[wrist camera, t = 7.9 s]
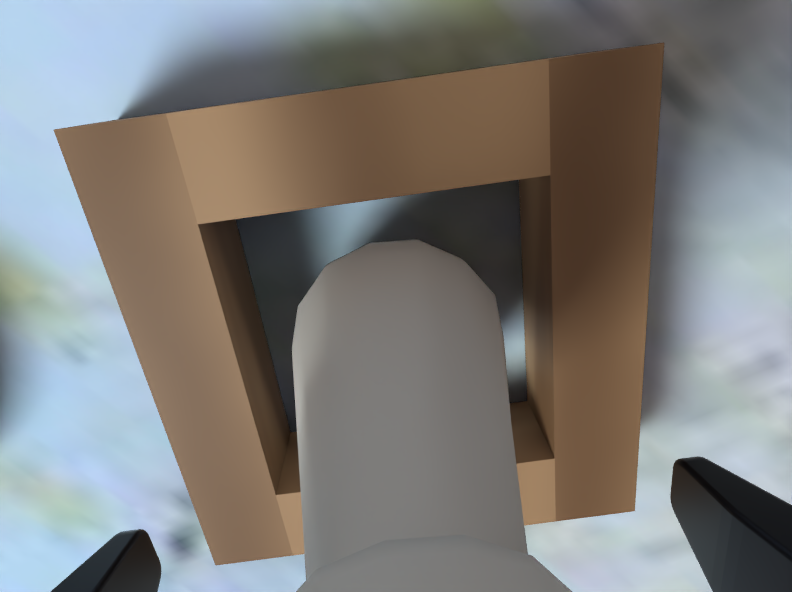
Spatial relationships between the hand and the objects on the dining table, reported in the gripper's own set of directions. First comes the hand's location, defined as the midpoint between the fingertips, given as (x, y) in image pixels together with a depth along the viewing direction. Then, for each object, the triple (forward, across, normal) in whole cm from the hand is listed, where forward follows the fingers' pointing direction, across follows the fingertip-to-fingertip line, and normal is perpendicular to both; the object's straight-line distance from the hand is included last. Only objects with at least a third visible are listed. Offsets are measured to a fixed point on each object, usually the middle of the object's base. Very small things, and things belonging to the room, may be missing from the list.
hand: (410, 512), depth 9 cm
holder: (+8, 0, 0) cm, 8 cm away
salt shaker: (+9, 0, 0) cm, 9 cm away
